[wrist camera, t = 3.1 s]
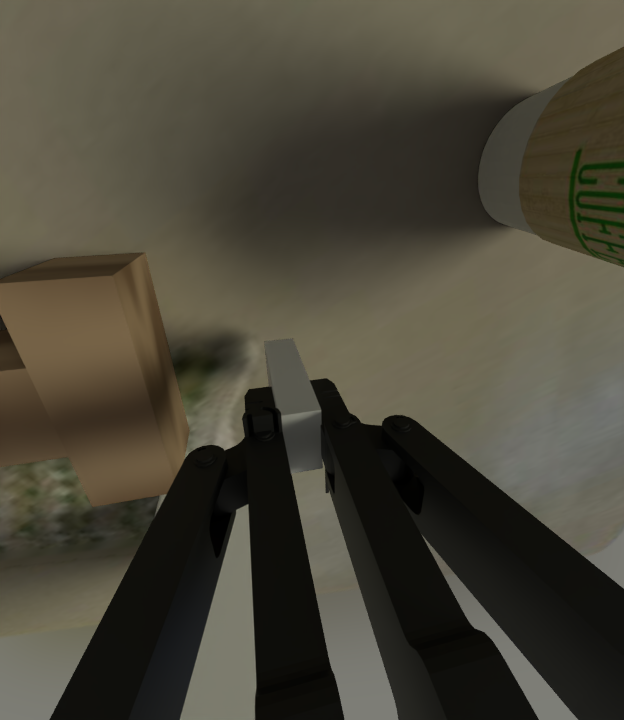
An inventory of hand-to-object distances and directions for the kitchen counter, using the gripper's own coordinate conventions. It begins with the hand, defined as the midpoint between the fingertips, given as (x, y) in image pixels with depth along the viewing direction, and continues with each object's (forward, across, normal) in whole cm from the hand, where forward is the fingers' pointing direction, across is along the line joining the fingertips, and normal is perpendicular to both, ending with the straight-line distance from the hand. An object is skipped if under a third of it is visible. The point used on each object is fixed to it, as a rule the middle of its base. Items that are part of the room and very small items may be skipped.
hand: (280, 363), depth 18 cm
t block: (+3, -12, 0) cm, 12 cm away
